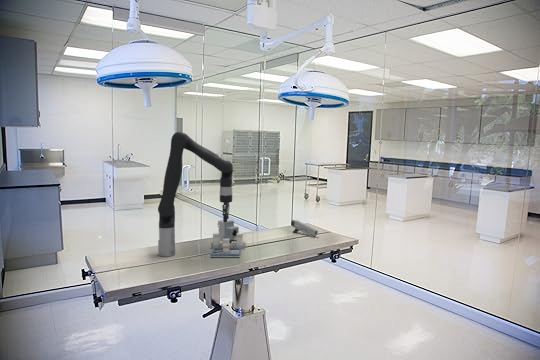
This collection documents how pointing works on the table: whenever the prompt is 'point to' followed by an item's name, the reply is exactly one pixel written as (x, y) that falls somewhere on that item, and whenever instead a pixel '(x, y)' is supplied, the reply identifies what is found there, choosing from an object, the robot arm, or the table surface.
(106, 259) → the table surface
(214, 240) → the left fuse
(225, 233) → the circuit breaker
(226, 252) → the block
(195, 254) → the table surface
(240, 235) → the right fuse
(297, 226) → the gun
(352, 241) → the table surface
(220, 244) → the fuse holder
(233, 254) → the tray
